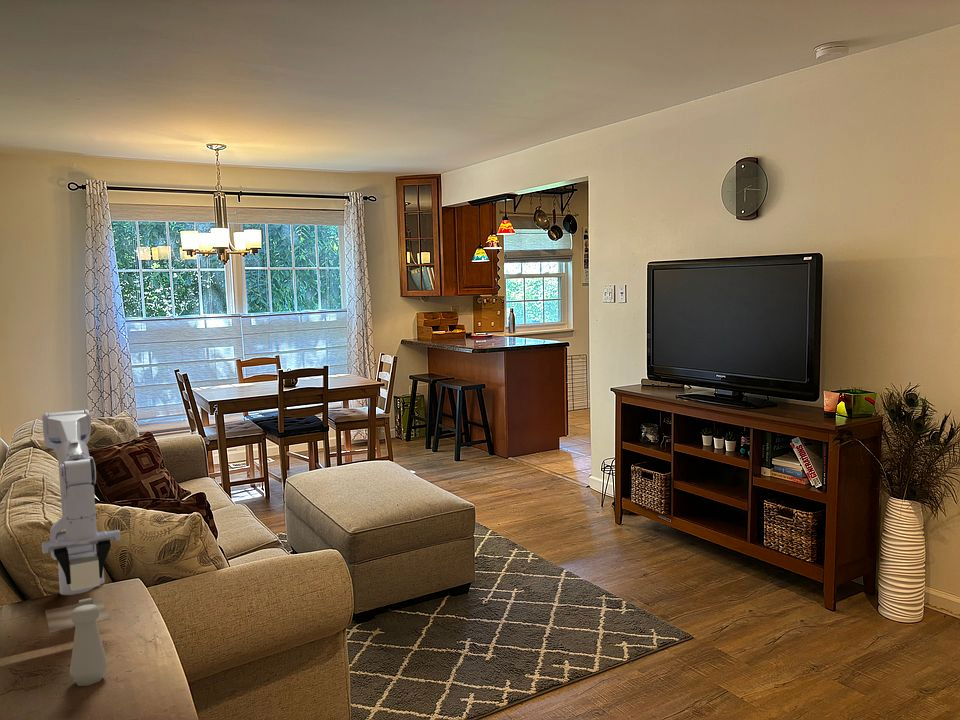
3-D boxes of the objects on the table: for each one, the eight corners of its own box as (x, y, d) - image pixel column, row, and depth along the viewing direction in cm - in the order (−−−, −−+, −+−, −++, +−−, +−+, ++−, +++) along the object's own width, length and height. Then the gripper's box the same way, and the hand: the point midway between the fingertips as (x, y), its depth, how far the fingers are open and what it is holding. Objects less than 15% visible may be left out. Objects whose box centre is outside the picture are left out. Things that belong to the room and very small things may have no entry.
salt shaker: (96, 688, 123) (91, 612, 122) (63, 689, 123) (58, 613, 123) (114, 672, 129) (110, 600, 128) (82, 673, 129) (78, 601, 128)
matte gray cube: (69, 584, 154) (67, 556, 153) (97, 579, 156) (95, 551, 156) (71, 591, 149) (70, 562, 149) (100, 585, 152) (98, 557, 152)
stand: (45, 616, 159) (43, 593, 159) (101, 603, 165) (99, 582, 165) (50, 638, 146) (48, 614, 146) (110, 624, 152) (109, 601, 152)
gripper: (41, 525, 145) (45, 592, 146) (121, 513, 153) (124, 576, 154) (39, 519, 151) (43, 584, 151) (116, 508, 159) (120, 569, 159)
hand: (84, 579), depth 153 cm, fingers closed on matte gray cube, 5 cm apart
